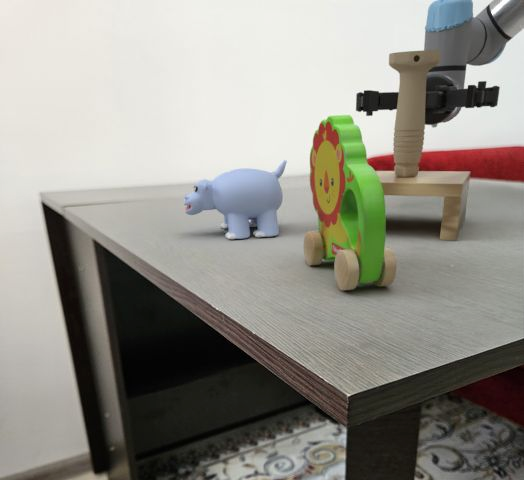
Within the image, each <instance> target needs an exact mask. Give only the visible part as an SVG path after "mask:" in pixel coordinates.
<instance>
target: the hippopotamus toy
mask: <svg viewBox="0 0 524 480" xmlns="http://www.w3.org/2000/svg"><path fill="white" fill-rule="evenodd" d="M287 163H288V161H287V160H285V159H283V161H282V162H281V164H279V166H277V168H276V170H275V171H271V172H269V171H268V170H262V169H258V168H245V167H244V168H236V169H232V170H229V171H225V172H223V173H221V174H218V175H217V176H215V177H214V178H213V180H208V179H206V178H204V179H200V180H198V181H197V182H196V183H195V184H194V185H193V190H194V191H192V192H191V193H184V199H183V205H184V206H186V207H185V209H184V212H185V213H186V214H187V215H189V216H195V215H198V214H200V213H202V212H203V211H215V210H216V211H217V212H218V213H220V214H221V215H223V222H221V224H220V228H222V229H225V230H228V231H227V232H226V233H225V235H224V236H225V238H227V240H236V239H237V240H241V239H242V240H243V239H247V238H250V237H251V229H250V228H257V229H254V230H253V231H252V235H253V236H254V237H255V238H269V237H276V236H278V235H280V231H279V222H278V221H279V220H278V213H277V211H278V210H279V209H280V208H281V206H282V204H283V198H284V197H283V196H284V195H283V190H282V186H281V184H280V181H279V179H280V178H281V177H282V176H283V175H284V172H285V169H286V167H287V166H286V165H287Z"/></svg>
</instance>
